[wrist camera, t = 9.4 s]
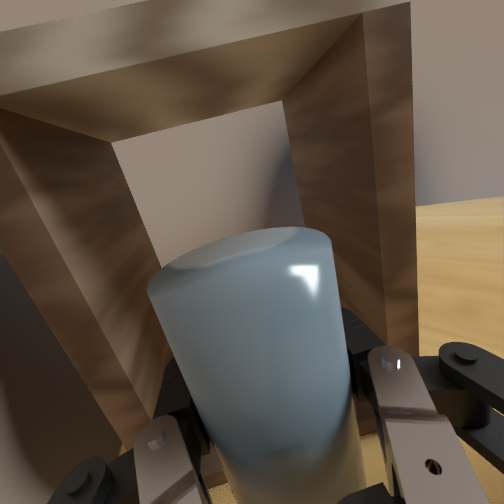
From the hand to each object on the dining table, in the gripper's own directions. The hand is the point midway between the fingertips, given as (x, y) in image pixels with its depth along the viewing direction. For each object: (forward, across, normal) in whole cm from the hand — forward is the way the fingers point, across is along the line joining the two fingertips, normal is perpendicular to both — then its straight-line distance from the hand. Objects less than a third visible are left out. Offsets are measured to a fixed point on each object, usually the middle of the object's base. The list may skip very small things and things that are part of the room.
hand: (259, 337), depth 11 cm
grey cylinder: (-3, 0, +7) cm, 7 cm away
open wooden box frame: (+11, 0, +16) cm, 19 cm away
